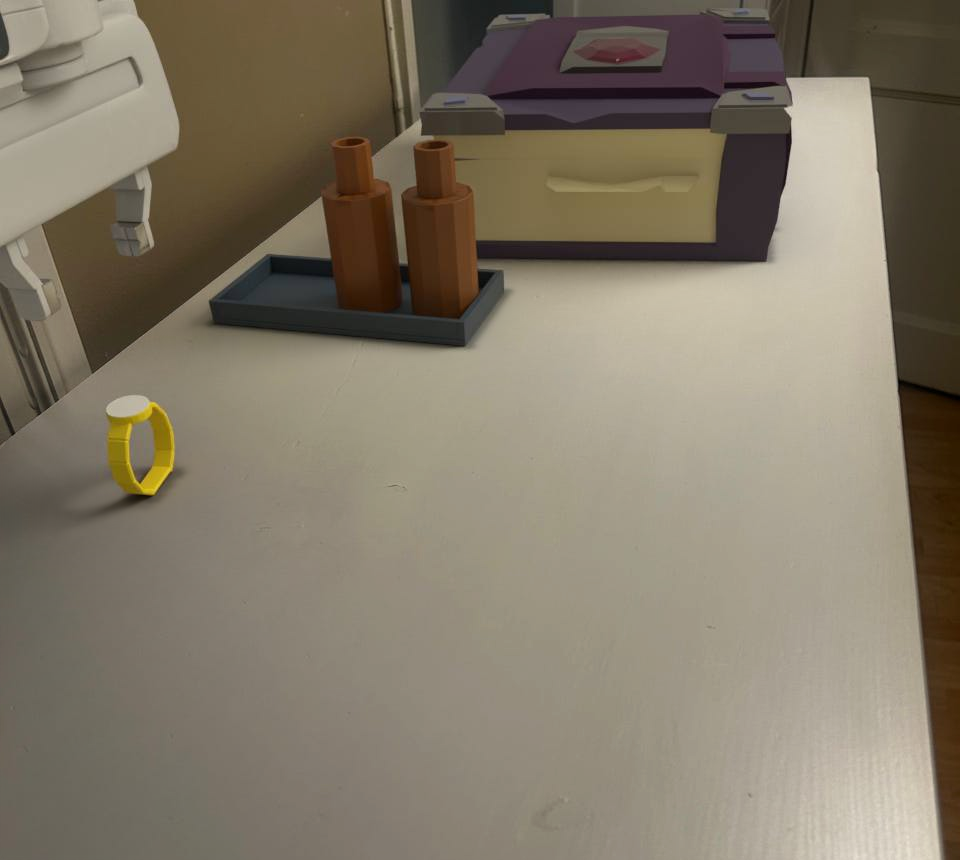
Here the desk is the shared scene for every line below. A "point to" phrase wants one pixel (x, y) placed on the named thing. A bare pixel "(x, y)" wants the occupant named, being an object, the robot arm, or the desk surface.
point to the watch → (122, 419)
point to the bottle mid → (361, 231)
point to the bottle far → (439, 234)
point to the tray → (314, 308)
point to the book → (621, 136)
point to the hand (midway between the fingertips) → (92, 282)
